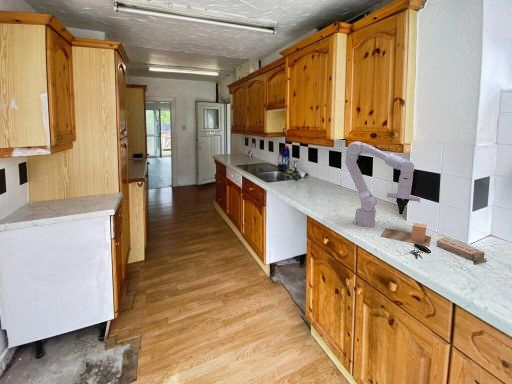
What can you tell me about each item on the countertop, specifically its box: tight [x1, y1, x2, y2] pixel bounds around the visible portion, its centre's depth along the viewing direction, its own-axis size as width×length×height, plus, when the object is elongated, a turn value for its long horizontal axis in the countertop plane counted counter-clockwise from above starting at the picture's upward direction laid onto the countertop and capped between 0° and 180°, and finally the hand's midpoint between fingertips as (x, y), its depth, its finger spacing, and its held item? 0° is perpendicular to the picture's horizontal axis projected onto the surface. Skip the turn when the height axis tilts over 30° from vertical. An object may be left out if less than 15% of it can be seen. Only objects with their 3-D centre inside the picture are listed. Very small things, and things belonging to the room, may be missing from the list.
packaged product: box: [436, 236, 487, 265], centre depth 125 cm, size 18×5×10 cm
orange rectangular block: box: [411, 222, 428, 242], centre depth 137 cm, size 5×5×7 cm
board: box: [379, 227, 432, 248], centre depth 140 cm, size 20×14×1 cm
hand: (400, 213), depth 147 cm, fingers closed
